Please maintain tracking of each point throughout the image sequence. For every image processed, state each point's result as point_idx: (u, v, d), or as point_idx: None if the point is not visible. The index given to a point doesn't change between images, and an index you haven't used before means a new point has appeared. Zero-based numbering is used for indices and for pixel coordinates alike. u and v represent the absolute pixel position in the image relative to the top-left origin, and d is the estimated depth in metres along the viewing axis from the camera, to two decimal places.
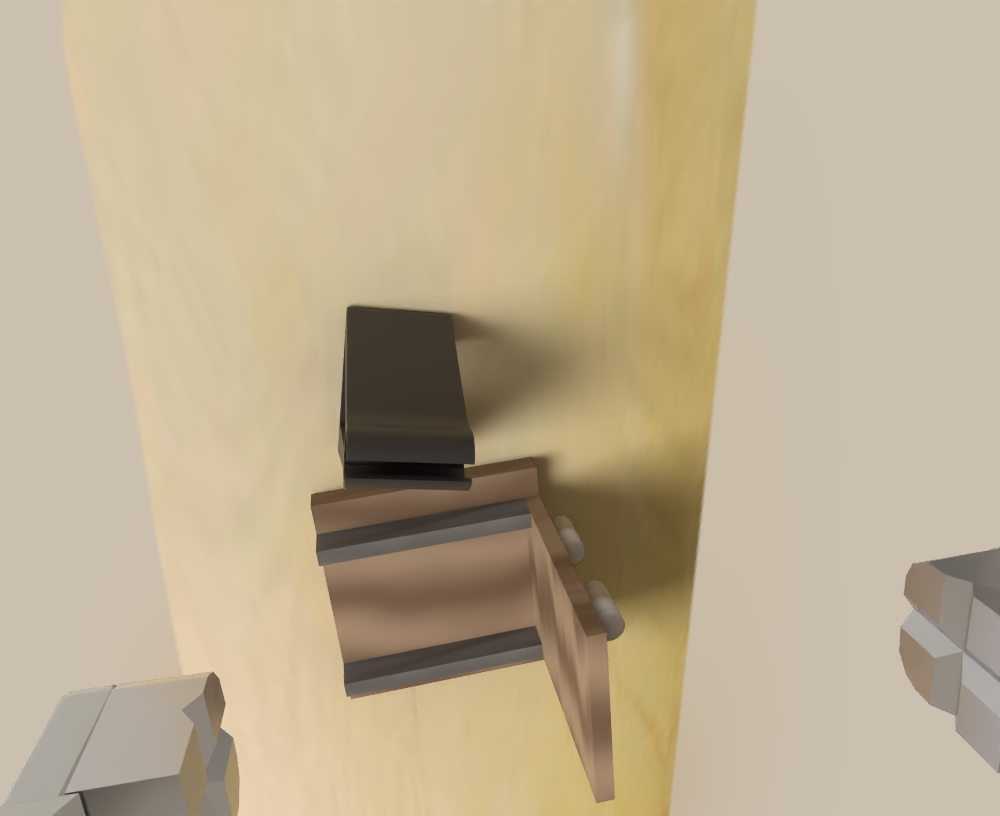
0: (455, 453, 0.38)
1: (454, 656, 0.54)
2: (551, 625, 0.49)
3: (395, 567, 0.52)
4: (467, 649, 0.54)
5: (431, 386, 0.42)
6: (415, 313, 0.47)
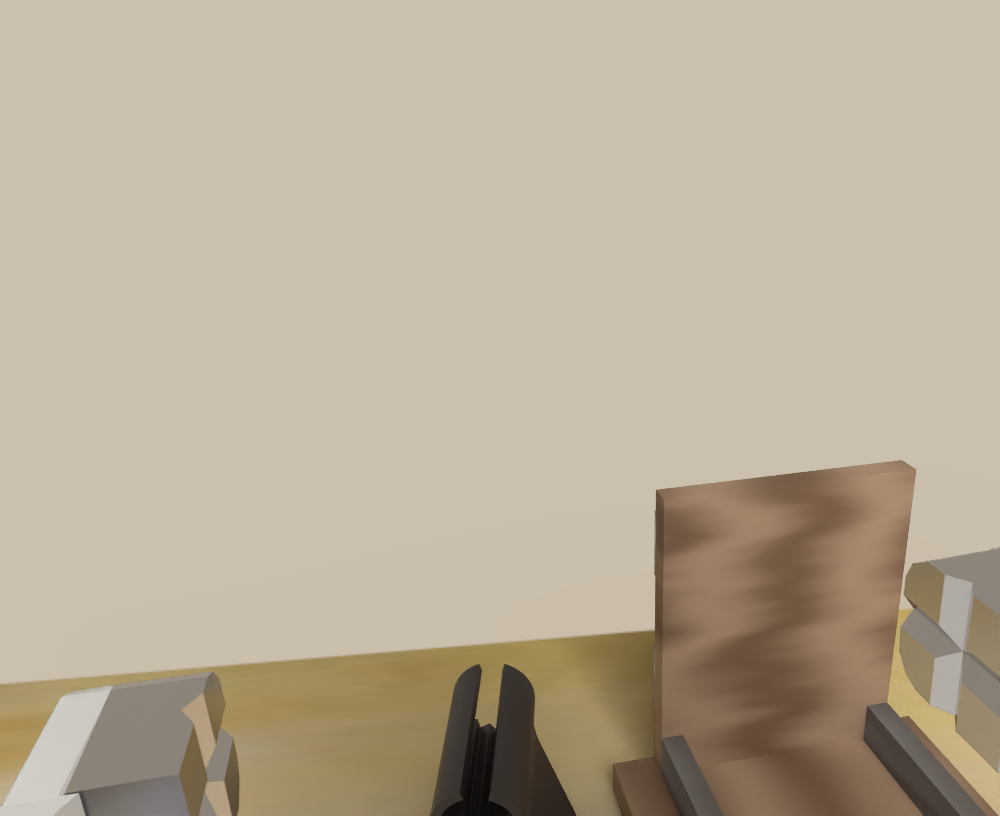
0: (465, 686, 0.29)
1: (946, 812, 0.33)
2: (785, 653, 0.37)
3: None
4: (930, 801, 0.34)
5: None
6: None
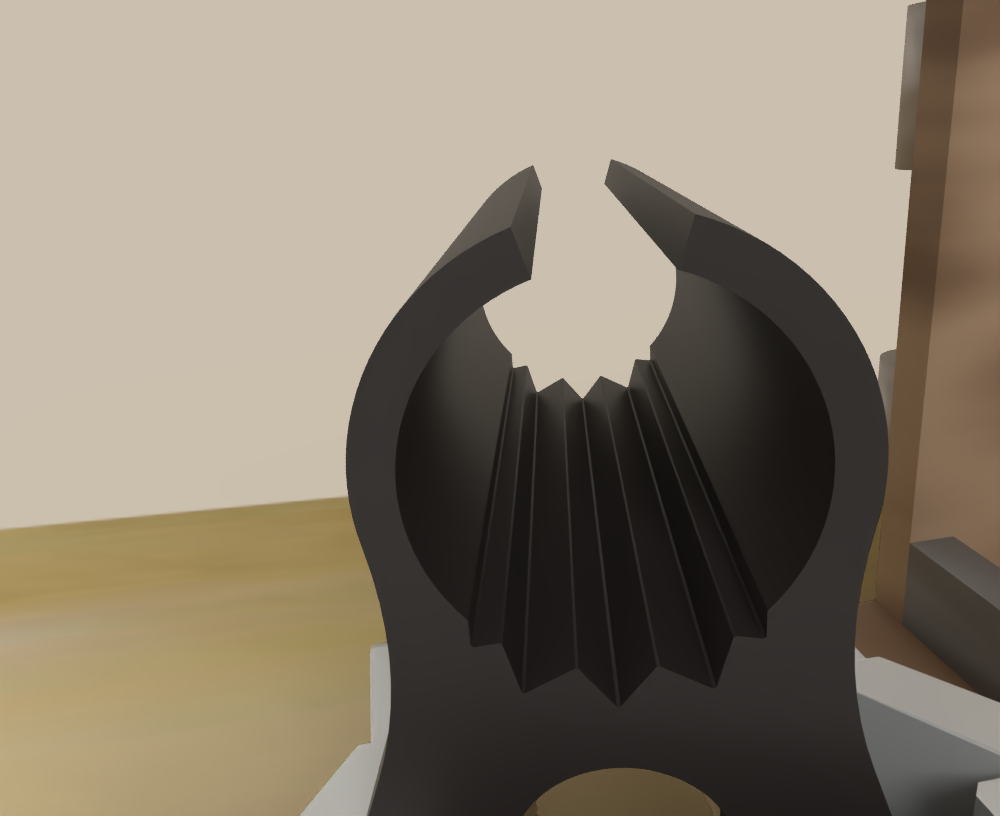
0: (494, 194, 0.09)
1: None
2: None
3: None
4: None
5: None
6: None
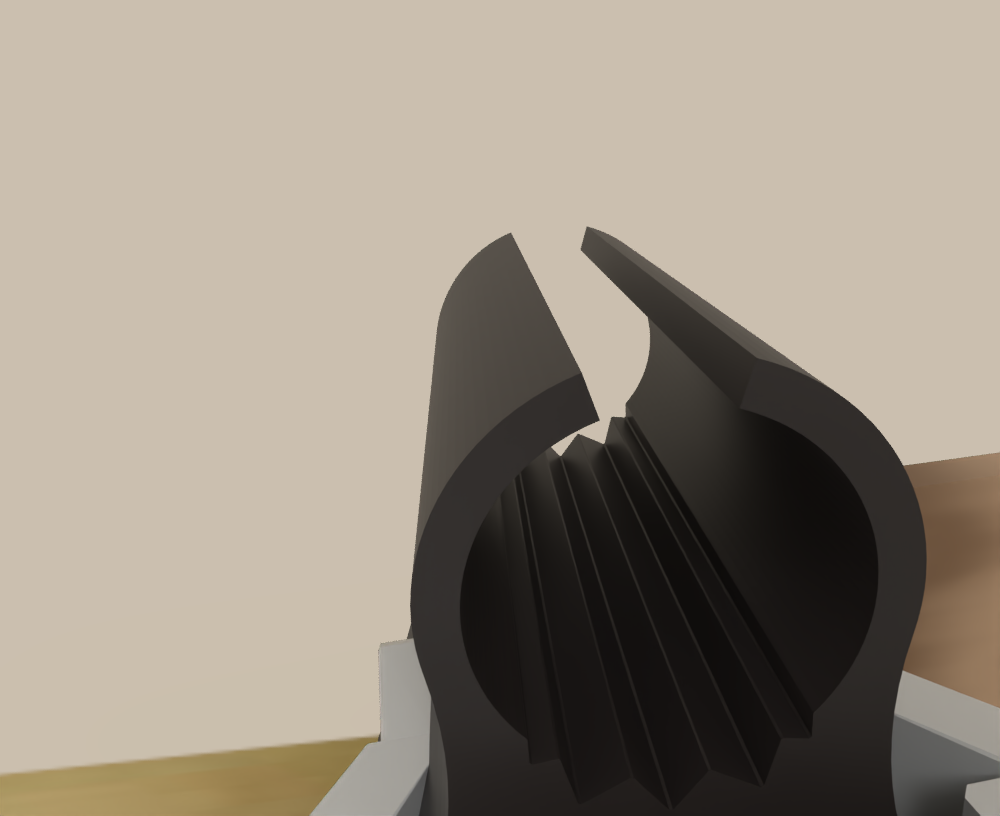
0: (479, 266, 0.09)
1: None
2: None
3: None
4: None
5: None
6: None
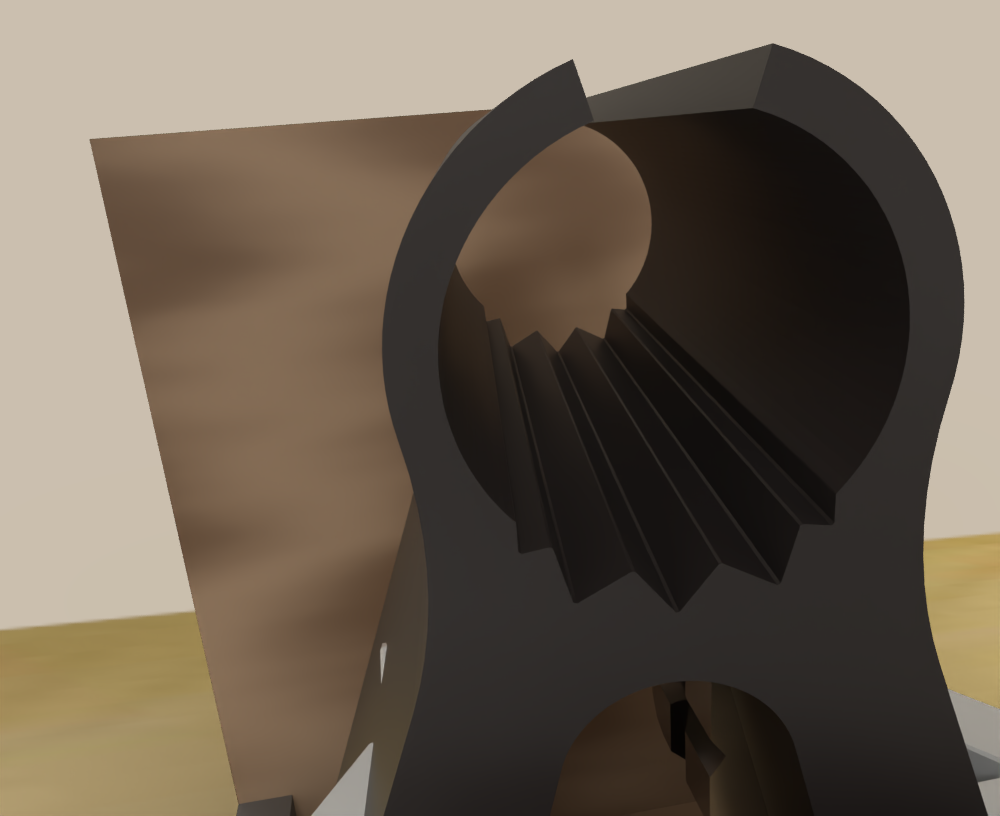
0: None
1: None
2: None
3: None
4: None
5: (392, 604, 0.10)
6: None
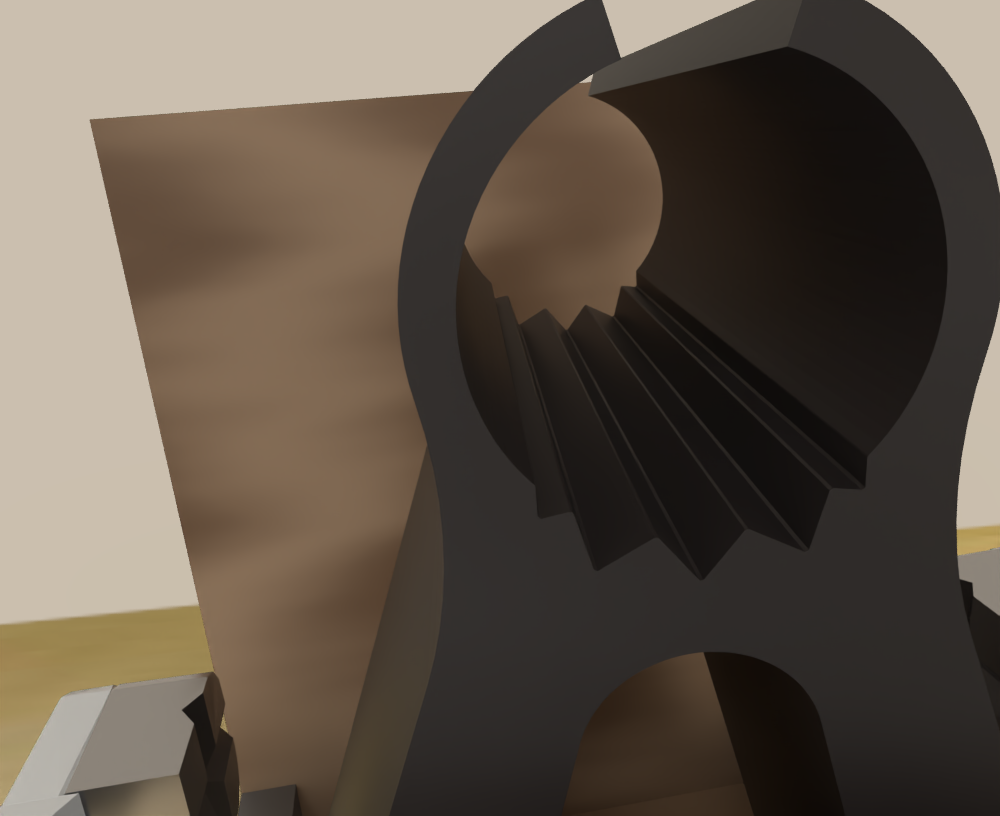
0: None
1: None
2: None
3: None
4: None
5: (398, 585, 0.09)
6: None
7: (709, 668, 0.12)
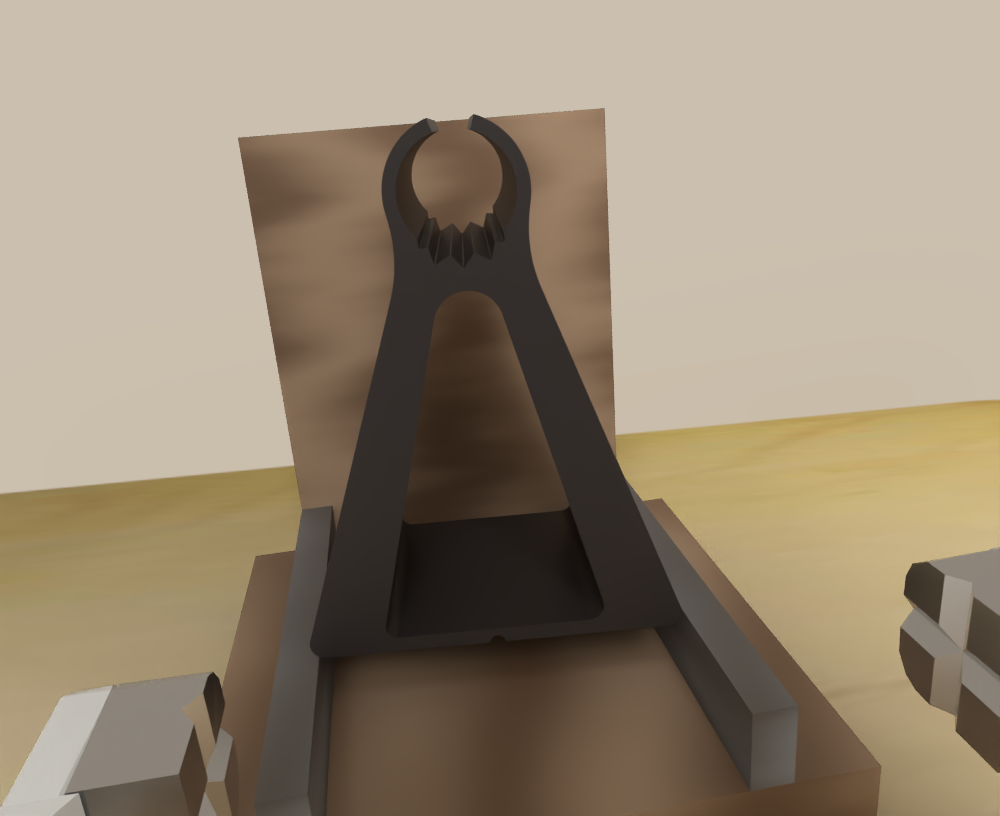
0: None
1: None
2: (459, 388, 0.27)
3: (425, 708, 0.21)
4: None
5: None
6: None
7: None
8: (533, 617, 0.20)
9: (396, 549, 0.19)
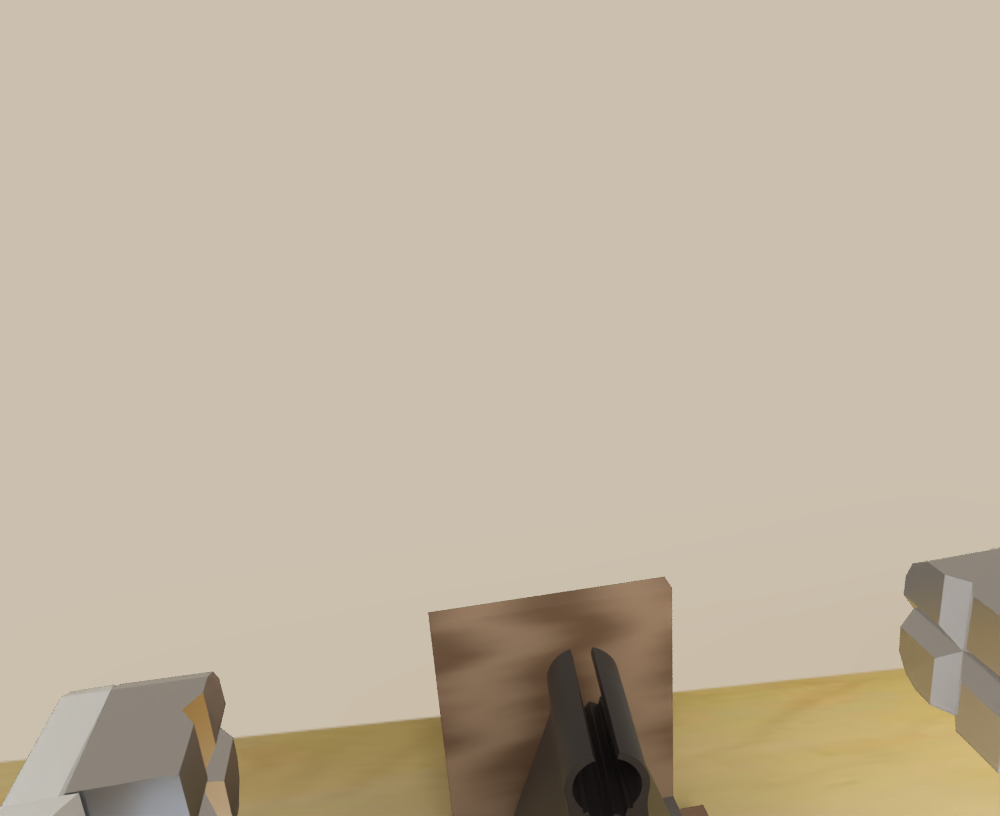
0: (562, 668, 0.33)
1: None
2: None
3: None
4: None
5: (537, 787, 0.34)
6: None
7: None
8: None
9: None
